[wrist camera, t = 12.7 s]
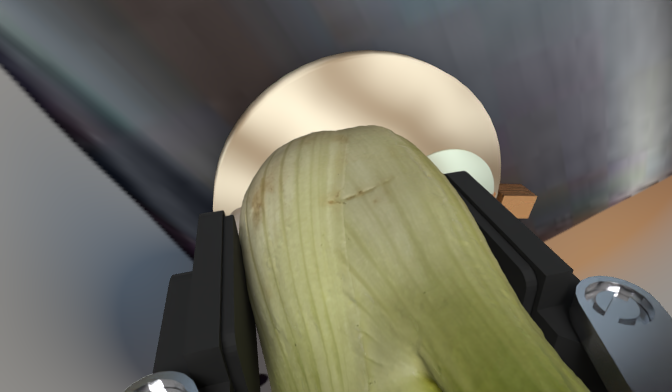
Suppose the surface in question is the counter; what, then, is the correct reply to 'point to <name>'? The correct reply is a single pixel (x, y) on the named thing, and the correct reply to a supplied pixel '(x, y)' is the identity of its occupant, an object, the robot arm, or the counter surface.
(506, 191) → the wooden block
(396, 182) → the fennel bulb
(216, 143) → the counter surface
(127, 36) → the counter surface
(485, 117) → the serving platter
